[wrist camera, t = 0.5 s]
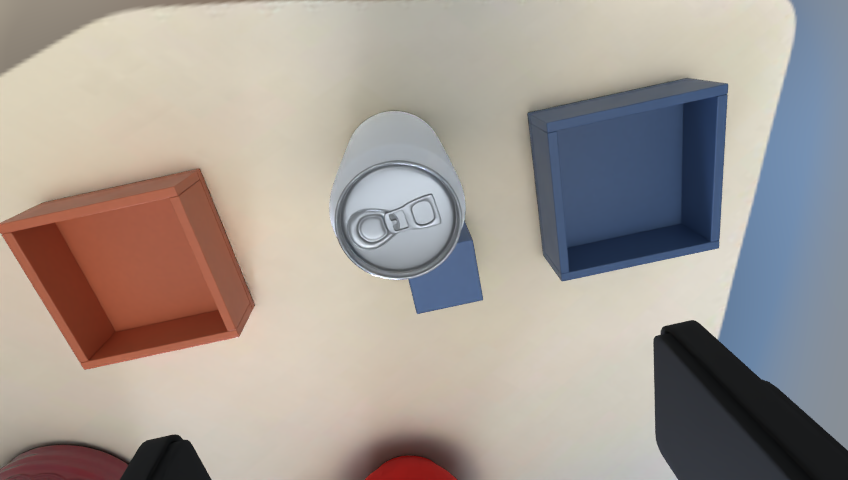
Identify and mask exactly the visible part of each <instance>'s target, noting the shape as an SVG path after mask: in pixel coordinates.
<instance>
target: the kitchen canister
mask: <svg viewBox="0 0 848 480" xmlns="http://www.w3.org/2000/svg"><path fill="white" fill-rule="evenodd" d="M127 467H128V464H126V463H125V462H123V461H122V460H120V459H118V458H116V457H114V456H112V455H110V454H107V453H105V452H102V451H99V450H96V449H92V448H87V447H82V446H74V445H51V446H44V447H39V448H35V449H32V450H29V451H27V452H24V453H22V454H21V455H19V456H17V457H16V458H14V459H13V460H12V461H11V462H10V463H8V464H7V465H6V466H4V467H3V468H1V469H0V480H120V478H121V477H122V475H123V473H124V472H125V470H126V468H127Z"/></svg>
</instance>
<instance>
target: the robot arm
mask: <svg viewBox="0 0 848 480" xmlns="http://www.w3.org/2000/svg"><path fill="white" fill-rule="evenodd" d="M654 387H655V433H656V441H657V445H658V447H659V450H660V452H661V454H662V456H663V457H664V459H665V460H666V462H667V463H668V465H669V466H670V468H671V469H672V471H673V472H674V474H675V475H676V477H677V478H678V480H848V451H847V450H846V449H845V448H844V447H843V446H842V445H841V444H840V443H839V442H837V441H836V440H835V439H834V438H833V437H832V436H830V434H828V433H827V432H826V431H825V430H824V429H823V428H822V427H820V425H818V424H817V423H816V422H815V421H814V420H813V419H812V418H810V417H809V416H808V415H807V414H806V413H805V412H804V411H803V410H802V409H800V408H799V407H798V406H797V405H796V404H795V403H793V401H791V400H790V399H789V398H788V397H787V396H786V395H785V394H784V393H783V392H781V391H780V390H779V389H778V388H777V387H775V386H774V385H772V384H771V383H770V382H767V381H764V380H761V379H760V378H759V377H758V376H757V375H756V374H755V373H753V372H752V371H751V370H750V369H749V368H748V367H747V366H746V365H745V364H744V363H743V362H741V361H740V360H739V359H738V358H737V357H736V356H735V355H734V354H733V353H732V352H730V351H729V350H728V349H727V348H726V347H725V346H724V345H723V344H722V343H720V342H719V341H718V340H717V339H716V338H715V337H714V336H713V335H712V334H711V333H709V332H708V331H707V330H706V329H705V328H704V327H703V326H702V325H701V324H699V323H698V322H697V321H694V320H691V321H686V322H682V323H677V324H673V325H668V326H664V327H663V328H662V330H661V335H658V336H655V338H654ZM120 480H211V478H210V476H209V474H208V473H207V471H206V469H205V467H204V465H203V464H202V462H201V460H200V458H199V456H198V455H197V453H196V451H195V449H194V447H193V446H192V444H191V443H190V441H188V440H183V439H182V438H181V437H180V436H179V435H169V436H165V437H160V438H156V439H151V440H147V441H145V442H144V443H142V445H141V446H140V447H139V449H138V450H137V452H136V454H135V455H134V457H133V458H132V460H131V462H130V463H129V465H128V467H127V468H126V470H125V472H124V473H123V475H122V477H121V478H120Z"/></svg>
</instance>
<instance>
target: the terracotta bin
mask: <svg viewBox="0 0 848 480" xmlns="http://www.w3.org/2000/svg"><path fill="white" fill-rule="evenodd" d="M0 233H1V234H2V236H3V238H4V239H5V241H6V243H7V244H8V246H9V247H10V249H11V251H12V252H13V254H14V256H15V257H16V259H17V261H18V262H19V264H20V265H21V267H22V269H23V270H24V272H25V274H26V275H27V277H28V278H29V280H30V282H31V283H32V285H33V287H34V288H35V290H36V292H37V293H38V295H39V296H40V298H41V300H42V301H43V303H44V305H45V306H46V308H47V309H48V311H49V313H50V314H51V316H52V318H53V319H54V321H55V323H56V324H57V326H58V327H59V329H60V331H61V332H62V334H63V336H64V337H65V339H66V341H67V342H68V344H69V345H70V347H71V349H72V350H73V352H74V354H75V355H76V357H77V358H78V360H79V362H81V365H82V367H83V368H84V369H85V370H86V369H91V368H95V367H100V366H105V365H109V364H114V363H119V362H123V361H128V360H133V359H138V358H142V357H147V356H152V355H156V354H161V353H166V352H170V351H175V350H180V349H185V348H189V347H194V346H199V345H203V344H208V343H213V342H217V341H222V340H227V339H232V338H236V337H239V336H240V334H241V332H242V330H243V328H244V326H245V324H246V322H247V320H248V318H249V316H250V314H251V312H252V309H253V308H254V306H255V305H254V302H253V300H252V298H251V295H250V293H249V290H248V288H247V285H246V283H245V280H244V278H243V275H242V273H241V270H240V268H239V265H238V263H237V260H236V258H235V255H234V253H233V250H232V248H231V246H230V243H229V241H228V238H227V236H226V233H225V231H224V228H223V226H222V223H221V221H220V218H219V216H218V213H217V211H216V208H215V206H214V203H213V201H212V198H211V196H210V193H209V191H208V189H207V186H206V184H205V181H204V179H203V176H202V174H201V171H200V169H195V170H190V171H186V172H181V173H177V174H172V175H168V176H163V177H158V178H154V179H149V180H145V181H140V182H135V183H131V184H126V185H122V186H117V187H112V188H108V189H103V190H99V191H94V192H90V193H85V194H80V195H76V196H71V197H67V198H62V199H57V200H53V201H48V202H44V203H41V204H39V205H37V206H35V207H33V208H30V209H28V210H26V211H24V212H22V213H20V214H18V215H16V216H14V217H12V218H10V219H8V220H5V221H3V222H1V223H0Z"/></svg>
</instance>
